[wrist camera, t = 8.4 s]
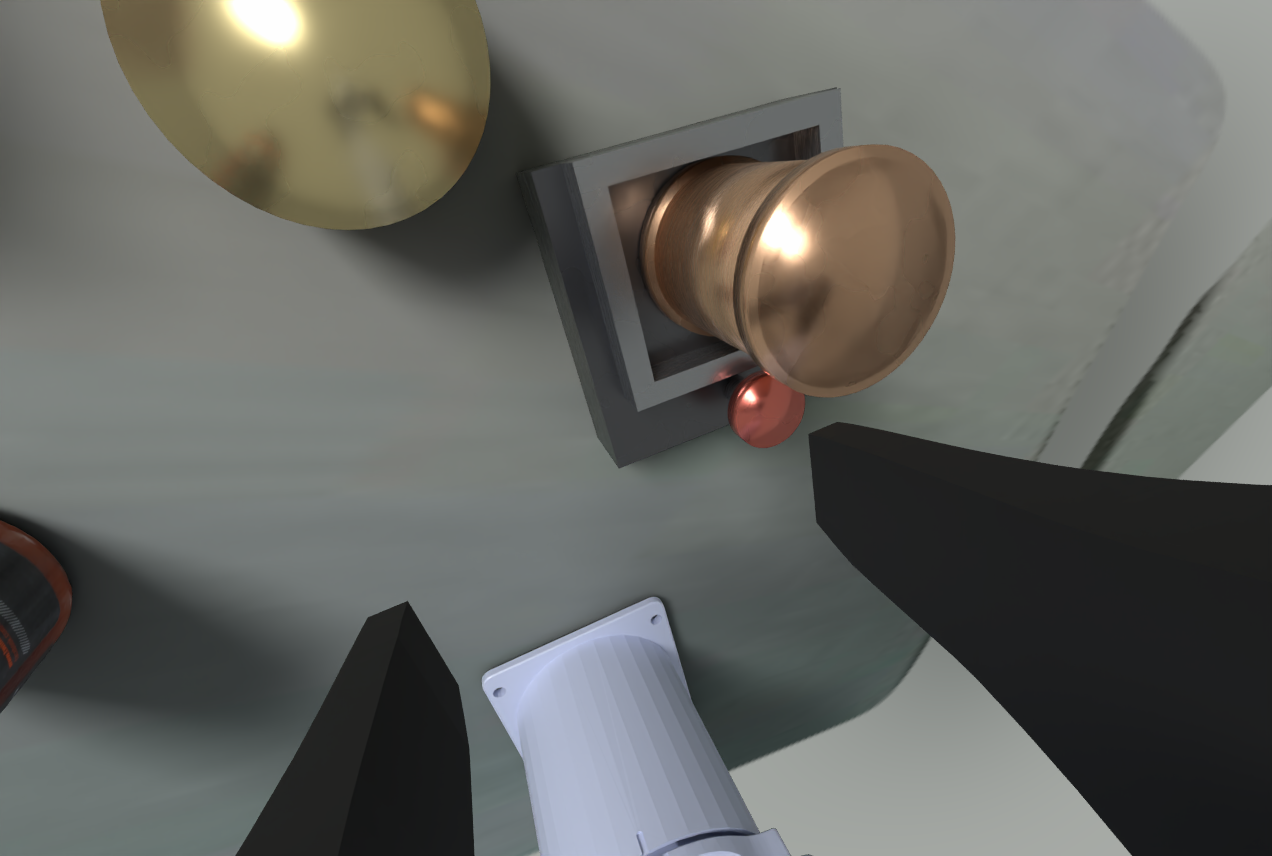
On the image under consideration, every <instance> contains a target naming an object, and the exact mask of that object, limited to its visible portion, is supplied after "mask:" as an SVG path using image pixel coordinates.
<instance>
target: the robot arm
mask: <svg viewBox="0 0 1272 856" xmlns="http://www.w3.org/2000/svg"><path fill="white" fill-rule="evenodd" d="M808 435H809V446H810V457H811V467H812V478H813V489H814V500H815V510H816V521H817V524H818V525H819V526H820V527H821V528H822V530H823V531H824V532H825V533H826V534H827V536H828V537H829V538H830V539H831V541H832V542H833V543H834V544H835V545H836V547H837V548H838V549H839V550H840V551H841V552H842V553H843V555H844V556H845V557H846V558H847V559H848V560H849V561H850V562H851V564H852V565H853V566H854V567H855V568H857V569H858V570H859V571H860V572H861V573H862V574H863V575H864V576H865V577H866V578H867V579H868V580H869V581H871V582H872V583H873V584H874V585H875V586H876V587H877V588H878V589H879V590H880V591H881V592H883V593H884V594H885V595H886V596H887V597H888V598H889V599H890V600H891V601H892V602H894V603H895V604H896V605H897V606H898V607H899V608H900V609H901V610H903V611H904V612H905V613H906V614H907V615H908V616H909V617H910V618H911V619H913V620H914V621H915V622H916V623H917V624H918V625H919V626H920V627H921V628H923V629H924V630H925V631H926V632H927V633H928V634H929V635H930V636H931V637H933V638H934V639H935V640H936V641H937V642H938V643H939V644H940V645H941V646H943V647H944V648H945V649H946V650H947V651H948V652H949V653H950V654H952V655H953V656H954V657H955V658H956V659H957V660H958V661H959V662H960V663H961V664H962V665H963V666H964V667H965V668H966V669H967V670H968V671H969V672H970V673H971V674H972V675H974V677H975V678H976V679H977V680H978V681H979V682H980V683H981V684H982V685H983V686H984V687H985V688H986V689H987V690H988V691H989V693H990V694H991V695H992V696H993V697H994V698H995V699H996V700H997V701H998V702H999V703H1000V704H1001V705H1002V707H1004V709H1005V710H1006V711H1007V712H1008V713H1009V714H1010V715H1011V716H1012V717H1013V718H1014V719H1015V720H1016V722H1017V723H1018V724H1019V725H1020V726H1021V727H1022V728H1023V729H1024V730H1025V731H1026V733H1027V734H1028V735H1029V736H1030V737H1031V738H1032V739H1033V740H1034V742H1035V743H1036V744H1037V745H1038V746H1039V747H1040V748H1041V750H1042V751H1043V752H1044V753H1045V754H1046V755H1047V756H1048V757H1049V759H1050V760H1051V761H1052V762H1053V763H1054V764H1055V765H1056V767H1057V768H1058V769H1059V770H1060V771H1061V772H1062V773H1063V774H1064V776H1065V777H1066V778H1067V779H1068V780H1069V781H1070V782H1071V784H1072V785H1073V786H1074V787H1075V788H1076V789H1077V790H1078V792H1079V793H1080V794H1081V795H1082V796H1083V798H1084V799H1085V800H1086V801H1087V802H1088V804H1089V805H1090V806H1091V807H1092V808H1093V810H1094V811H1095V812H1096V813H1097V814H1098V815H1099V817H1100V818H1101V819H1102V820H1103V821H1104V823H1105V824H1106V825H1107V826H1108V827H1109V829H1110V830H1111V831H1112V832H1113V833H1114V835H1115V836H1116V837H1117V838H1118V839H1119V841H1120V842H1121V843H1122V844H1123V845H1124V847H1125V848H1126V849H1127V850H1128V851H1129V853H1130V854H1131V855H1132V856H1272V485H1251V484H1237V483H1221V482H1205V481H1190V480H1178V479H1166V478H1155V477H1145V476H1136V475H1128V474H1119V473H1111V472H1102V471H1094V470H1085V469H1078V468H1072V467H1065V466H1058V465H1051V464H1046V463H1040V462H1034V461H1029V460H1023V459H1017V458H1011V457H1006V456H1000V455H995V454H990V453H985V452H980V451H975V450H970V449H965V448H961V447H956V446H951V445H947V444H942V443H938V442H933V441H929V440H924V439H920V438H915V437H911V436H906V435H902V434H897V433H893V432H888V431H884V430H879V429H874V428H869V427H864V426H859V425H854V424H848V423H841V422H836V423H834V424H831V425H829V426H827V427H824V428H822V429H819V430H817V431H815V432H812V433H810V434H808ZM655 615H657V616H656V617H655V618H652V617H653V616H655ZM482 686H483V690H484V692H485V693H486V695H487V697H488V699H489V700H490V702H491V704H492V706H493V707H494V709H495V711H496V713H497V714H498V716H499V718H500V720H501V721H502V723H503V725H504V727H505V729H506V730H507V732H508V734H509V736H510V737H511V739H512V741H513V743H514V744H515V746H516V748H517V750H518V751H519V753H520V755H521V757H522V758H523V760H524V766H525V771H526V777H527V783H528V788H529V794H530V799H531V805H532V811H533V816H534V822H535V828H536V833H537V839H538V845H539V850H540V856H791V855H790V853H789V851H788V849H787V848H786V846H785V844H784V842H783V840H782V839H781V837H780V835H779V833H778V831H777V829H775V828H771V829H769V830H767V831H765V832H761V833H760V832H759V830H758V828H757V826H756V824H755V822H754V820H753V818H752V816H751V814H750V812H749V811H748V809H747V807H746V805H745V803H744V801H743V799H742V797H741V795H740V793H739V791H738V789H737V788H736V785H735V784H734V782H733V780H732V778H731V776H730V774H729V772H728V770H727V768H726V766H725V764H724V762H723V760H722V758H721V757H720V755H719V753H718V751H717V749H716V747H715V745H714V743H713V741H712V739H711V737H710V735H709V733H708V731H707V730H706V728H705V726H704V724H703V722H702V720H701V718H700V716H699V714H698V712H697V710H696V708H695V706H694V705H693V703H692V700H691V696H690V693H689V690H688V686H687V683H686V679H685V676H684V673H683V669H682V666H681V662H680V659H679V655H678V652H677V649H676V645H675V642H674V638H673V635H672V632H671V628H670V625H669V621H668V618H667V614H666V611H665V608H664V605H663V603H662V602H661V600H660V599H659V598H658V597H650V598H647V599H645V600H643V601H641V602H639V603H636V604H634V605H632V606H630V607H628V608H625V609H623V610H621V611H619V612H617V613H614V614H612V615H610V616H608V617H606V618H603V619H601V620H599V621H597V622H595V623H592V624H590V625H588V626H586V627H584V628H581V629H579V630H577V631H575V632H573V633H570V634H568V635H566V636H564V637H562V638H559V639H557V640H555V641H553V642H551V643H548V644H546V645H544V646H542V647H540V648H537V649H535V650H533V651H531V652H529V653H526V654H524V655H522V656H520V657H518V658H515V659H513V660H511V661H509V662H507V663H504V664H502V665H500V666H498V667H496V668H493V669H491V670H489V671H488V672H486V673H485V674H484V675H483V677H482ZM501 687H502V688H501ZM497 688H501V689H499V690H496V689H497ZM236 856H474V836H473V813H472V792H471V772H470V754H469V744H468V737H467V731H466V725H465V719H464V713H463V708H462V702H461V696H460V691H459V685H458V684H457V682H456V680H455V679H454V677H453V675H452V674H451V672H450V670H449V669H448V667H447V665H446V664H445V662H444V660H443V659H442V657H441V655H440V654H439V652H438V650H437V649H436V647H435V645H434V644H433V642H432V640H431V639H430V637H429V636H428V634H427V632H426V631H425V629H424V627H423V626H422V624H421V622H420V621H419V619H418V617H417V616H416V614H415V612H414V611H413V609H412V607H411V606H410V604H409V602H408V601H406V602H404V603H402V604H399V605H397V606H394V607H392V608H390V609H387V610H385V611H382V612H380V613H378V614H375V615H373V616H370V617H368V618H367V620H366V622H365V624H364V626H363V627H362V629H361V631H360V633H359V635H358V637H357V639H356V641H355V643H354V645H353V647H352V648H351V650H350V652H349V654H348V656H347V658H346V660H345V662H344V664H343V666H342V668H341V670H340V672H339V674H338V676H337V677H336V679H335V681H334V683H333V685H332V687H331V689H330V691H329V693H328V695H327V697H326V699H325V701H324V702H323V704H322V706H321V708H320V710H319V712H318V714H317V716H316V717H315V719H314V721H313V723H312V725H311V727H310V729H309V730H308V732H307V734H306V736H305V738H304V740H303V742H302V743H301V745H300V747H299V749H298V751H297V753H296V754H295V756H294V758H293V760H292V761H291V763H290V765H289V766H288V768H287V770H286V772H285V773H284V775H283V777H282V778H281V780H280V782H279V783H278V785H277V787H276V789H275V790H274V792H273V794H272V795H271V797H270V799H269V801H268V802H267V804H266V806H265V807H264V809H263V811H262V812H261V814H260V816H259V818H258V819H257V821H256V823H255V824H254V826H253V828H252V829H251V831H250V833H249V835H248V836H247V838H246V840H245V841H244V843H243V844H242V846H241V848H240V849H239V851H238V852H237V854H236ZM803 856H812V855H809V854H808V855H803Z"/></svg>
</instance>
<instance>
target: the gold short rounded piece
mask: <svg viewBox="0 0 1272 856" xmlns="http://www.w3.org/2000/svg"><path fill="white" fill-rule="evenodd" d="M101 6H102V11H103V15H104V19H105V23H106V28H107V32H108V35H109V38H110V41H111V43H112V46H113V49H114V52H115V54H116V57H117V60H118V62H119V64H120V66H121V68H122V70H123V72H124V74H125V76H126V78H127V80H128V82H129V84H130V86H131V88H132V90H133V92H134V93H135V95H136V97H137V98H138V100H139V101H140V103H141V104H142V106H143V107H144V109H145V111H146V112H147V114H148V115H149V117H150V118H151V119H152V120H153V122H154V123H155V124H156V125H157V127H158V128H159V129H160V130H161V132H162V133H163V134H164V135H165V137H166V138H167V139H168V140H169V141H170V142H171V143H172V144H173V145H174V146H175V147H176V149H177V150H178V151H179V152H180V153H181V154H182V155H183V156H184V157H185V158H186V159H187V160H188V161H189V162H190V163H192V164H193V165H194V166H195V167H196V168H198V169H199V170H200V171H201V172H202V173H204V174H205V175H206V176H207V177H208V178H209V179H211V180H212V181H214V182H215V183H217V184H218V185H219V186H221V187H222V188H224V189H225V190H227V191H228V192H230V193H231V194H233V195H234V196H236V197H238V198H240V199H242V200H243V201H245V202H247V203H249V204H251V205H253V206H254V207H256V208H258V209H261V210H263V211H266V212H268V213H270V214H273V215H275V216H277V217H280V218H283V219H286V220H290V221H293V222H296V223H300V224H303V225H308V226H314V227H320V228H325V229H339V230H357V229H371V228H375V227H380V226H385V225H390V224H393V223H396V222H399V221H402V220H404V219H407V218H410V217H412V216H413V215H415V214H417V213H419V212H421V211H423V210H425V209H427V208H428V207H429V206H431V205H432V204H433V203H435V202H436V201H437V200H439V199H440V198H442V197H443V196H444V195H445V194H446V193H447V192H448V191H449V190H450V189H451V188H452V187H453V186H454V185H455V184H456V182H457V181H458V180H459V178H460V177H461V176H462V174H463V173H464V172H465V170H466V169H467V167H468V165H469V163H470V162H471V160H472V158H473V156H474V154H475V152H476V150H477V148H478V145H479V142H480V140H481V137H482V134H483V132H484V127H485V123H486V119H487V114H488V108H489V99H490V61H489V53H488V46H487V40H486V36H485V31H484V27H483V23H482V19H481V16H480V13H479V10H478V7H477V4H476V1H475V0H101Z"/></svg>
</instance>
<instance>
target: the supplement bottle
mask: <svg viewBox="0 0 1272 856" xmlns="http://www.w3.org/2000/svg"><path fill="white" fill-rule="evenodd" d="M71 607H72V588H71V585H70V583H69V581H68V578H67V575H66V572H65V571H64V569H63V568H62V566H61V565H60V563H59V562H58V561H57V560H56V558H55V557H54V556H53V555H52V554H51V553H50V552H49V551H48V550H47V549H46V548H45V547H44V546H43V545H42V544H41V543H40V542H39V541H37V540H36V539H35V538H33V537H32V536H30V535H28V534H27V533H25V532H24V531H22V530H20V529H18V528H16V527H15V526H12V525H9V524H7V523H5V522H4V521H1V520H0V713H1V712H2V711H3V710H4V709H5V707H6V706H7V705H8V704H9V702H10V701H11V699H12V698H13V697H14V696H15V694H16V693H17V692H18V691H19V690H20V688H21V687H22V685H23V684H24V683H25V682H26V681H27V679H28V678H29V677H30V675H31V674H32V673H33V671H34V670H35V669H36V668H37V666H38V665H39V664H40V663H41V661H42V660H43V659H44V658H45V656H46V655H47V653H48V652H49V651H50V649H51V648H52V646H53V644H54V643H55V641H56V640H57V639H58V637H59V636H60V635H61V633H62V632H63V630H64V628H65V626H66V624H67V621H68V619H69V616H70V612H71Z"/></svg>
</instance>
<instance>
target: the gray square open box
mask: <svg viewBox="0 0 1272 856" xmlns="http://www.w3.org/2000/svg"><path fill="white" fill-rule="evenodd" d="M841 147H843V132H842V112H841V92H840V88H838V89H837V87H836V88H831V89H827V90H822V91H817V92H813V93H808V94H804V95H799V96H795V97H790V98H786V99H782V100H778V101H775V102H771V103H768V104H764V105H760V106H757V107H753V108H749V109H746V110H742V111H739V112H735V113H731V114H728V115H724V116H720V117H717V118H713V119H710V120H706V121H702V122H699V123H695V124H692V125H688V126H684V127H681V128H677V129H673V130H670V131H666V132H663V133H659V134H655V135H652V136H648V137H644V138H641V139H637V140H634V141H630V142H626V143H623V144H619V145H615V146H612V147H608V148H605V149H601V150H597V151H594V152H590V153H587V154H583V155H579V156H576V157H572V158H568V159H565V160H561V161H558V162H554V163H550V164H547V165H543V166H539V167H536V168H532V169H529V170H525V171H521V172H518V173H516V175H517V178H518V181H519V185H520V188H521V191H522V194H523V198H524V201H525V204H526V207H527V210H528V214H529V217H530V220H531V223H532V227H533V230H534V233H535V236H536V240H537V243H538V246H539V249H540V252H541V256H542V259H543V262H544V265H545V269H546V272H547V275H548V278H549V282H550V285H551V288H552V291H553V294H554V298H555V301H556V304H557V307H558V311H559V314H560V317H561V320H562V324H563V327H564V330H565V333H566V336H567V340H568V343H569V346H570V349H571V353H572V356H573V359H574V362H575V366H576V369H577V372H578V375H579V378H580V382H581V385H582V388H583V391H584V395H585V398H586V401H587V404H588V407H589V411H590V414H591V417H592V420H593V424H594V427H595V430H596V433H597V437H598V439H599V440H600V442H601V443H602V444H603V446H604V447H605V449H606V450H607V452H608V453H609V455H610V456H611V458H612V459H613V460H614V462H615V463H616V465H617V466H618V468H621V467H624V466H626V465H629V464H631V463H634V462H636V461H639V460H641V459H644V458H646V457H649V456H651V455H654V454H656V453H659V452H661V451H664V450H666V449H669V448H671V447H674V446H676V445H679V444H681V443H684V442H686V441H689V440H691V439H694V438H696V437H699V436H701V435H704V434H706V433H709V432H711V431H714V430H716V429H719V428H721V427H724V426H726V425H729V424H730V427H731V428H732V430H733V431H734V432H735V433H736V434H737V435H738V436H739V437H740V438H742V439H743V440H744V441H745V442H747V443H748V444H750V445H751V446H754V447H758V448H768V447H772V446H775V445H777V444H780V443H781V442H783V441H784V440H786V439H787V438H788V437H789V436H790V435H791V434H792V433H793V432H794V431H795V430H796V428H797V427H798V425H799V423H800V422H801V419H802V417H803V414H804V409H805V397H804V394H803V393H800V392H797V391H795V390H793V389H792V388H790V387H788V386H786V385H784V384H783V383H781V382H779V381H777V380H776V379H774V378H772V377H770V376H769V375H768V374H767V373H765V372H764V371H763V370H762V369H761V368H760V367H759V366H758V365H757V364H756V363H755V362H754V361H753V359H752V358H751V356H750V355H748V354H747V353H745V352H743V351H741V350H739V349H737V348H735V347H734V346H732V345H730V344H728V343H726V342H724V341H722V340H720V339H719V338H717V337H715V336H705V335H700V334H697V333H694V332H691V331H689V330H687V329H685V328H684V327H682V326H680V325H678V324H676V323H675V322H673V321H672V320H670V319H669V318H668V317H666V316H665V315H664V314H663V313H662V312H661V311H660V310H659V309H658V307H657V306H656V305H655V303H654V302H653V300H652V299H651V297H650V295H649V293H648V291H647V289H646V286H645V283H644V281H643V276H642V272H641V266H640V239H641V233H642V229H643V225H644V221H645V218H646V216H647V213H648V210H649V208H650V206H651V204H652V203H653V201H654V199H655V197H656V196H657V194H658V193H659V191H660V190H661V189H662V187H663V186H664V185H665V184H666V183H667V182H668V181H669V180H670V179H671V178H672V177H673V176H674V175H675V174H676V173H678V172H679V171H680V170H682V169H683V168H685V167H686V166H688V165H690V164H692V163H694V162H696V161H699V160H702V159H705V158H709V157H716V156H727V155H737V156H745V157H750V158H753V159H756V160H758V161H761V162H774V161H795V160H808V159H810V158H812V157H814V156H816V155H818V154H820V153H822V152H825V151H829V150H832V149H835V148H841Z"/></svg>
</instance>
